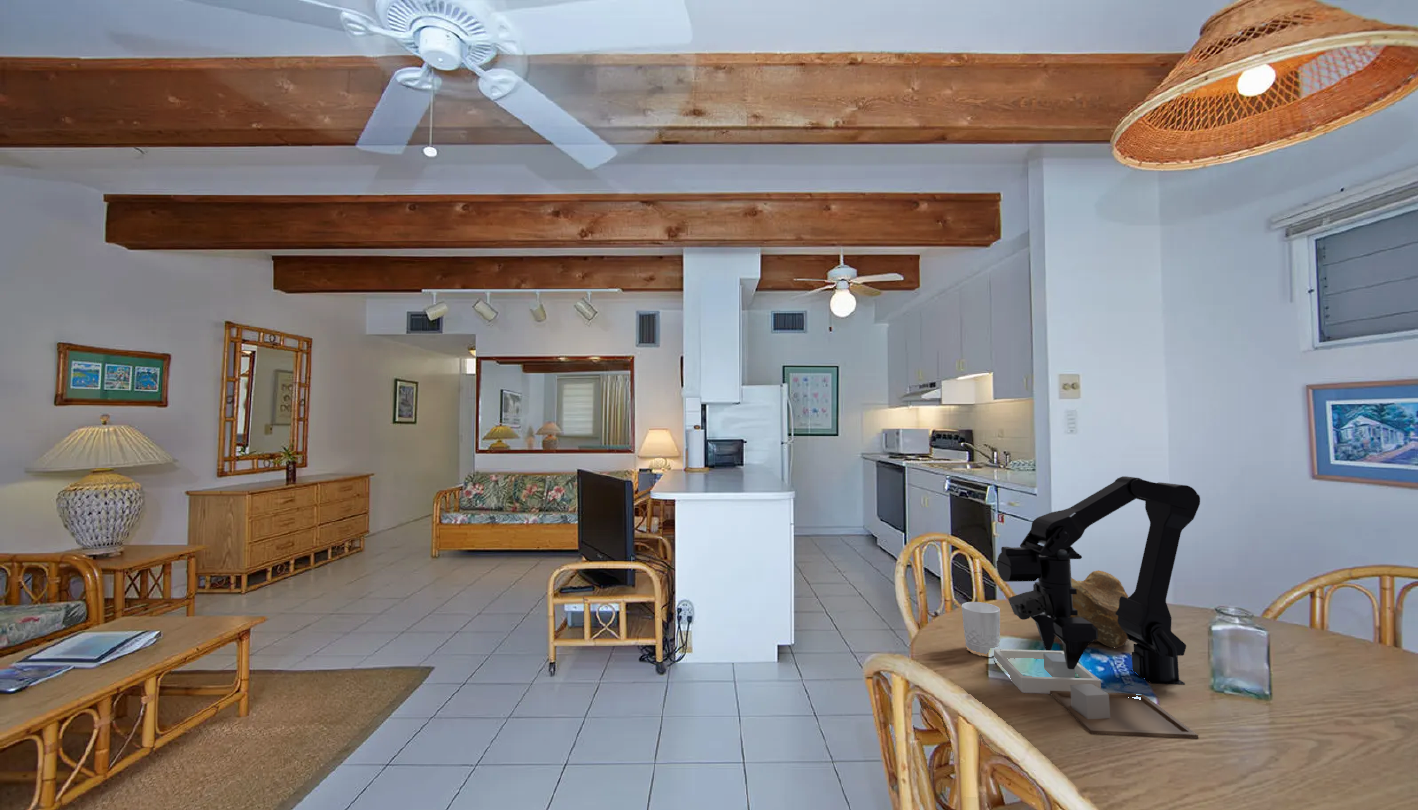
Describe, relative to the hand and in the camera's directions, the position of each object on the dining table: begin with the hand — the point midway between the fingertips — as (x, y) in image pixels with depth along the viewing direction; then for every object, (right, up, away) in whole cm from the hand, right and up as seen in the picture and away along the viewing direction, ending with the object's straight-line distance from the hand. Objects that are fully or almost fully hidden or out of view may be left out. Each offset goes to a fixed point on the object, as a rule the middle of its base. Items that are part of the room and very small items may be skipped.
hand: (1058, 659), depth 112 cm
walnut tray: (+1, -4, -15) cm, 15 cm away
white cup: (-8, -5, +15) cm, 18 cm away
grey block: (0, -4, 0) cm, 4 cm away
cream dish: (-3, -4, 0) cm, 5 cm away
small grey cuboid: (-3, -3, -14) cm, 15 cm away
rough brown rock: (+23, -5, +21) cm, 32 cm away
